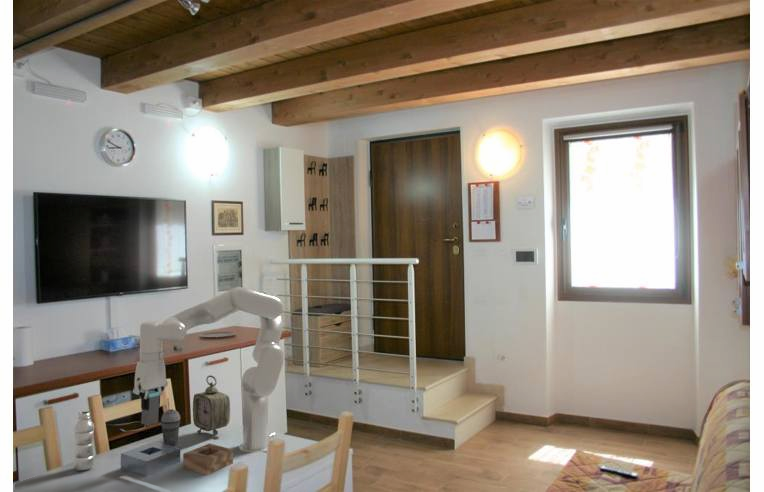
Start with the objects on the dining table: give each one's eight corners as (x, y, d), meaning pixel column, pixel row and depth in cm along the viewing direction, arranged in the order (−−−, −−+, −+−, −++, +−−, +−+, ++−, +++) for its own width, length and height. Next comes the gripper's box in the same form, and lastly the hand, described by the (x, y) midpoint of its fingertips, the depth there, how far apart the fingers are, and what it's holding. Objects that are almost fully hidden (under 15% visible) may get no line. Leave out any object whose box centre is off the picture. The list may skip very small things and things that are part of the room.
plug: (150, 420, 203) (152, 390, 203) (158, 422, 201) (159, 392, 201) (141, 423, 199) (142, 392, 199) (148, 425, 197) (149, 394, 197)
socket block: (154, 457, 210) (154, 441, 210) (180, 465, 203) (180, 448, 203) (120, 470, 198) (120, 453, 198) (146, 478, 191) (146, 461, 191)
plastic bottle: (87, 464, 203) (87, 409, 203) (98, 468, 200) (98, 412, 199) (69, 470, 197) (69, 413, 197) (80, 474, 194) (80, 416, 194)
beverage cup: (173, 454, 213) (174, 401, 213) (156, 452, 214) (156, 400, 214) (184, 447, 220) (184, 396, 220) (167, 446, 221) (167, 395, 221)
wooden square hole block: (209, 459, 208) (209, 443, 208) (233, 466, 202) (233, 449, 202) (183, 470, 198) (183, 453, 198) (207, 478, 192) (207, 460, 192)
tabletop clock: (192, 434, 235) (192, 374, 235) (211, 428, 242) (211, 371, 242) (212, 442, 226) (212, 380, 226) (231, 436, 233) (231, 376, 233)
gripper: (163, 351, 209) (163, 400, 209) (123, 359, 195) (122, 412, 195) (177, 353, 205) (177, 403, 205) (137, 361, 191) (136, 415, 191)
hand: (150, 407), depth 200 cm, fingers closed on plug, 4 cm apart
